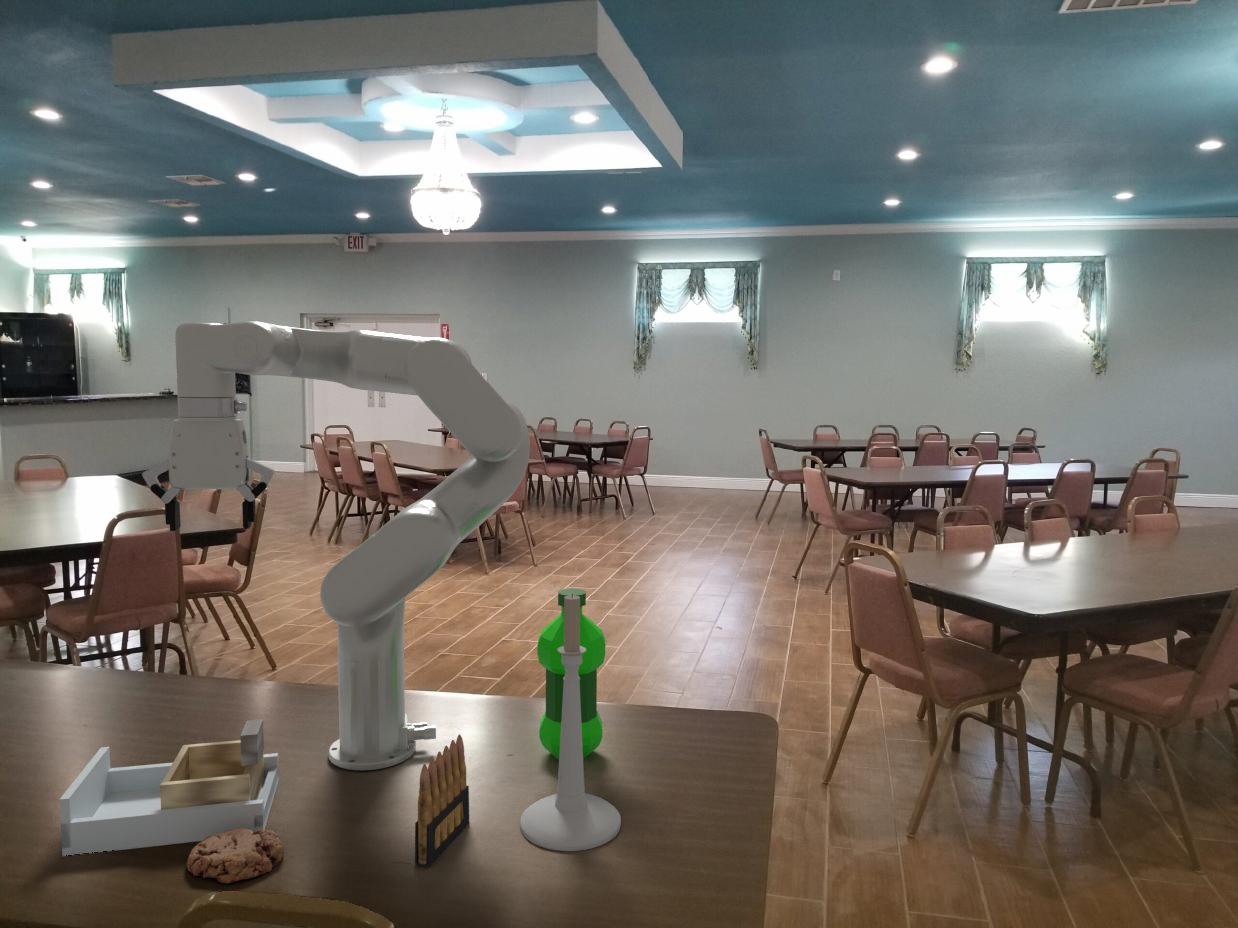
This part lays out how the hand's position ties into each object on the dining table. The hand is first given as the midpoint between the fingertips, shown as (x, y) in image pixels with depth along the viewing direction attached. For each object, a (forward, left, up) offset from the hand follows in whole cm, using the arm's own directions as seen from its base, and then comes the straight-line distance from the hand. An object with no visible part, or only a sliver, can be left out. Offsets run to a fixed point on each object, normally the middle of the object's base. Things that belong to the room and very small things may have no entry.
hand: (211, 528), depth 125 cm
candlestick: (-47, +31, -34) cm, 66 cm away
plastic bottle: (-51, +11, -34) cm, 63 cm away
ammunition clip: (-31, +32, -35) cm, 56 cm away
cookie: (-7, +31, -35) cm, 47 cm away
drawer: (-3, +18, -33) cm, 38 cm away
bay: (+1, +18, -34) cm, 39 cm away
